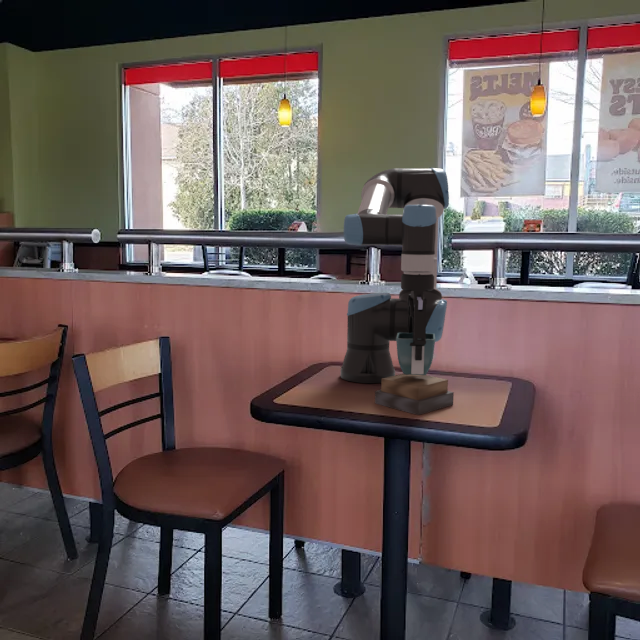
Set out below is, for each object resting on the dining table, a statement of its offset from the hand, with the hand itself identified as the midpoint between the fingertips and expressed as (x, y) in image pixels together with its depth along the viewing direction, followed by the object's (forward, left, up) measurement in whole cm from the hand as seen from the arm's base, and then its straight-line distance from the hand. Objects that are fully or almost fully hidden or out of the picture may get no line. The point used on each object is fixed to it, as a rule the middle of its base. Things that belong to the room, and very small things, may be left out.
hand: (415, 369), depth 152 cm
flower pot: (0, 0, -1) cm, 1 cm away
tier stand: (0, 0, -8) cm, 8 cm away
